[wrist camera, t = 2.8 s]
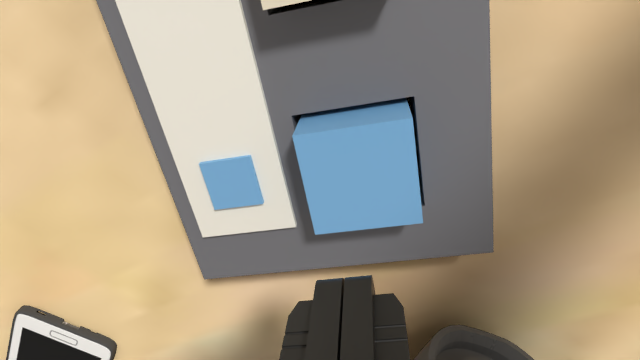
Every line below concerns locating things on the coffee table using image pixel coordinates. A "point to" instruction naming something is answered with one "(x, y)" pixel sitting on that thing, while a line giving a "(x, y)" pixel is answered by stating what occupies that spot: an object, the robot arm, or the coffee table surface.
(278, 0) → the button sand
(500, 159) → the coffee table surface
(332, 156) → the button blue
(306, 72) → the button board
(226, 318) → the coffee table surface
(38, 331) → the cell phone
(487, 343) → the bluetooth speaker
